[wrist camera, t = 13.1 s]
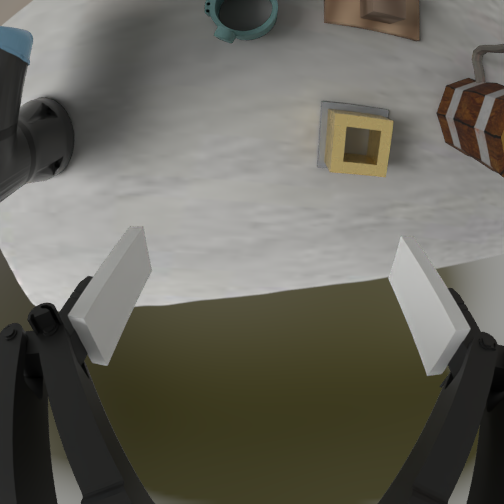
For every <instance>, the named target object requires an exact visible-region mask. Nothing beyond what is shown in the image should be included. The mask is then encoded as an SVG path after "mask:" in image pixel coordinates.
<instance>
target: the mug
mask: <svg viewBox="0 0 504 504" xmlns="http://www.w3.org/2000/svg"><path fill="white" fill-rule="evenodd" d="M487 52H494V53H504V44H499V45H482V46H478V47H477V48H476V49H475V50H474V51H473V55H472V63H473V67H474V73H475V80H473V79H470V78H467V79H464V80H461V81H458V82H455V83H452V84H450V85H447V86H446V88H445V91H444V94H443V97H442V100H441V103H440V105H439V108H438V111H437V116H438V119H439V122H440V125H441V129H442V132H443V135H444V139H445V142H446V143H447V144H449V145H451V146H452V147H454V148H456V149H457V150H459V151H461V152H462V153H464V154H465V155H467V156H470V157H473V158H474V159H476V160H477V161H479V162H480V163H482V164H483V165H485V166H486V167H488V168H489V169H491V170H493V171H495V172H497V173H499V174H500V175H501V176H502V177H504V86H503V85H500V84H498V83H485V76H484V70H483V66H482V58H483V55H484V54H486V53H487Z"/></svg>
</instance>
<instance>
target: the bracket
mask: <svg viewBox="0 0 504 504" xmlns="http://www.w3.org/2000/svg"><path fill="white" fill-rule="evenodd" d="M224 1H225V0H206V2H205V13H206V14H207V15H208V16H211V18H212V20H213V21H214V23H215V24H216V25H217V26H218V28H217V30H216V32H215V33H214V36H216V37H217V38H219V39H220V40H223V41H226V42H228V43H233V41H234V40H235V38H237V39H240V40H252V39H256V38H259V37H262V36H263V35H265V34H266V33H268V32H269V31H270V30H271V29H272V28H273V26H274V24H275V22H276V19H277V12H278V3H277V0H269V1H270V2H271V3H272V13H271V15H270V17H269V19H268V20H267V21H266V22H265V23H264V24H263V25H262V26H260V27H258V28H256V29H253V30H249V31H237V30H233V29H230V28H228V27H226V26H224V25H223V24H222V23H221V22H220V20H219V9H220V7H221V5H222V3H223V2H224Z"/></svg>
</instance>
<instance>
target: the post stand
mask: <svg viewBox="0 0 504 504" xmlns="http://www.w3.org/2000/svg"><path fill="white" fill-rule="evenodd" d="M324 23H330V24H337V25H344V26H350V27H356V28H362V29H367V30H373V31H377V32H382V33H387V34H391V35H395V36H399V37H403V38H407V39H411V40H414V41H419V0H324Z"/></svg>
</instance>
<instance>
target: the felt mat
mask: <svg viewBox="0 0 504 504" xmlns="http://www.w3.org/2000/svg"><path fill="white" fill-rule="evenodd" d="M328 109H335V110H344V111H353V112H361V113H368V114H375V115H381V116H383V117H386V118H388V112H389V110H386V109H380V108H374V107H367V106H360V105H352V104H344V103H335V102H326V101H322V105H321V122H320V136H319V150H318V162H317V167H318V168H328V167H327V166H326V164H325V162H324V158H325V146H326V133H327V119H328ZM368 138H369V129H363V128H355V127H346V138H345V148H344V153H350V154H360V155H367V147H368Z"/></svg>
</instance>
